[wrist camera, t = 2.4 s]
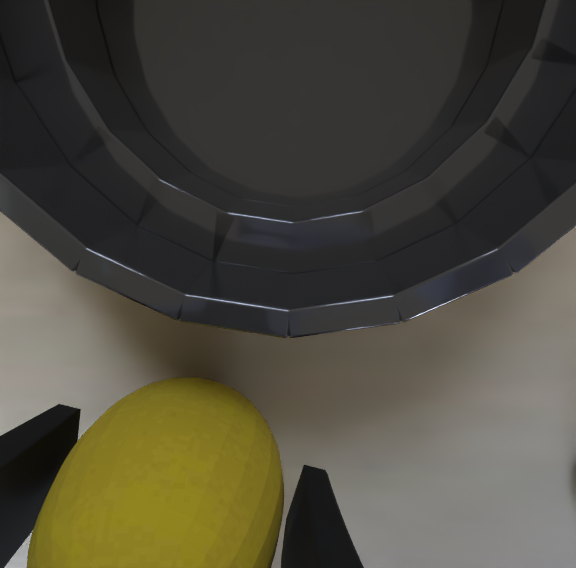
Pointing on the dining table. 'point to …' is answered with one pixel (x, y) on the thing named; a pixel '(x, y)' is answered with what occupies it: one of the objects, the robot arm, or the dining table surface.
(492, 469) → the dining table surface
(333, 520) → the robot arm
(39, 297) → the dining table surface
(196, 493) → the lemon
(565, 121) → the bowl
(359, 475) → the dining table surface
